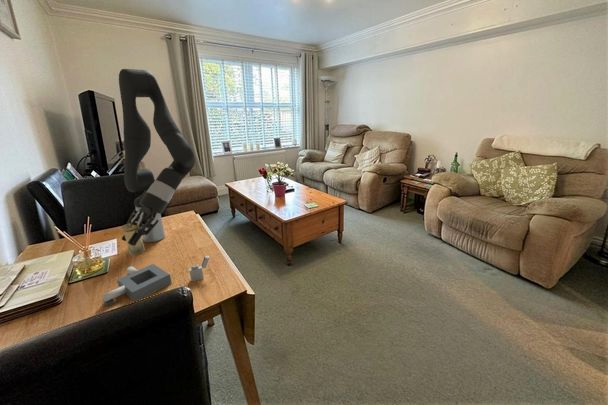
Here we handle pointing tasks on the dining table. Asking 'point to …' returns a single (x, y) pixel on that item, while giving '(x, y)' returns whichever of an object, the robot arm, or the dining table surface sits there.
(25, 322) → the dining table surface
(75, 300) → the dining table surface
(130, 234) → the gold cylindrical piece
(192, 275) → the lighter
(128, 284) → the shaft housing
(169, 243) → the dining table surface
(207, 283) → the dining table surface
